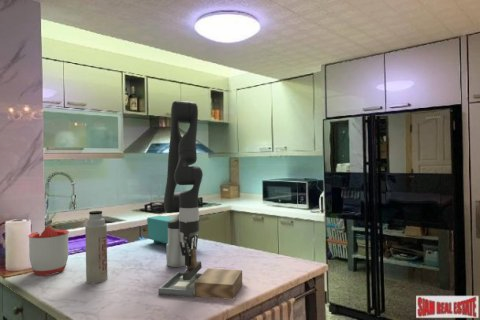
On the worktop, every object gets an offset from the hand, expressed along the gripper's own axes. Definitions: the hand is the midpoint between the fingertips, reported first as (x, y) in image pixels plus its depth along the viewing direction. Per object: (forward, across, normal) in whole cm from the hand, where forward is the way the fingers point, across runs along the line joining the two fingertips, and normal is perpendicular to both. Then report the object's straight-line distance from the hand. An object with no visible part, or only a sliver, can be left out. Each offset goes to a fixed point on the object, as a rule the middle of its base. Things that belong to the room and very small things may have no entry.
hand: (189, 264), depth 131 cm
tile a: (+6, +4, -1) cm, 8 cm away
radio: (+9, -57, -32) cm, 66 cm away
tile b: (+6, -4, -2) cm, 8 cm away
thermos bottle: (+9, -1, -40) cm, 41 cm away
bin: (+9, 0, -2) cm, 9 cm away
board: (+9, 0, +12) cm, 15 cm away
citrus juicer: (+9, -7, -68) cm, 69 cm away
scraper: (+4, 0, +1) cm, 4 cm away
